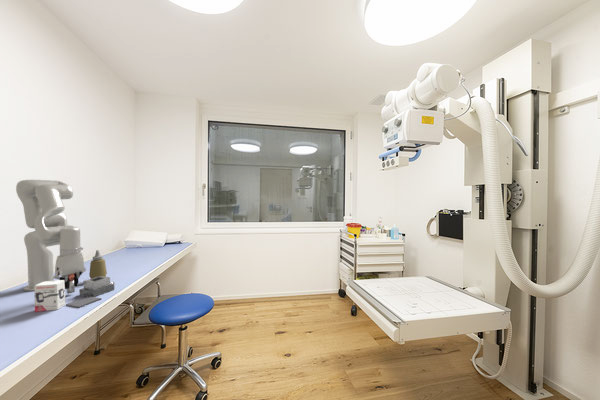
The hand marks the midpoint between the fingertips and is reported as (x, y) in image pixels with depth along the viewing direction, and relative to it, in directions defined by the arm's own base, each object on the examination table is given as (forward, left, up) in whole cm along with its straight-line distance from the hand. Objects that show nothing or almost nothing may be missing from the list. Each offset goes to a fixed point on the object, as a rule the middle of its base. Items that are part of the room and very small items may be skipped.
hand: (70, 286), depth 119 cm
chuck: (+10, +7, -4) cm, 13 cm away
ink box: (+9, -12, -4) cm, 16 cm away
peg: (0, 0, -3) cm, 3 cm away
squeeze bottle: (-10, +19, -4) cm, 22 cm away
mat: (+17, -4, -4) cm, 18 cm away
